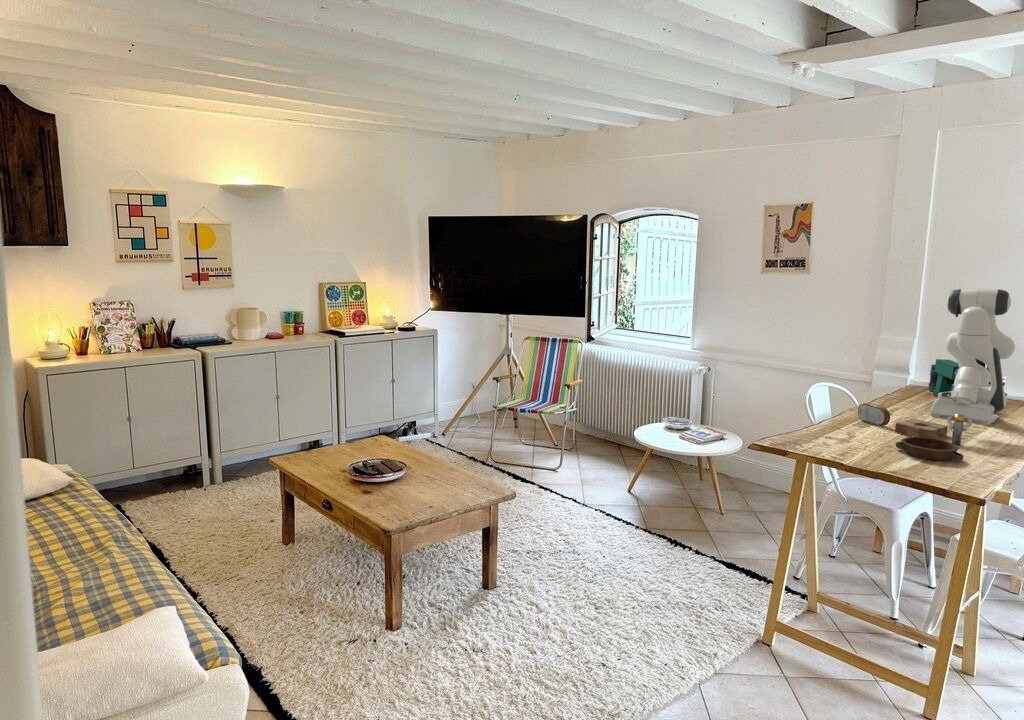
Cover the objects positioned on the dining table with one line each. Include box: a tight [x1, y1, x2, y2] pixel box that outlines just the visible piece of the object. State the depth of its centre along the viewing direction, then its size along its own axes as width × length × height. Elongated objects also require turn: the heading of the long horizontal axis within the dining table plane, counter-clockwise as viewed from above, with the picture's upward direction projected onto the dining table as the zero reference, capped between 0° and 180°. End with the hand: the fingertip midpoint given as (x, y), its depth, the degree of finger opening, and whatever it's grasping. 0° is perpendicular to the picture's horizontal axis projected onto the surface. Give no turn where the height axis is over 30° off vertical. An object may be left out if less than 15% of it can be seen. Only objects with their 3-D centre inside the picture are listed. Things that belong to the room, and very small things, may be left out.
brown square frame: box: [894, 418, 949, 439], centre depth 285 cm, size 14×14×4 cm
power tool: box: [930, 358, 960, 399], centre depth 341 cm, size 32×7×20 cm, turn 168°
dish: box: [895, 436, 965, 462], centre depth 256 cm, size 18×22×5 cm
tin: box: [857, 402, 891, 427], centre depth 301 cm, size 15×3×8 cm, turn 20°
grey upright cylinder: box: [951, 414, 965, 447], centre depth 270 cm, size 3×3×12 cm
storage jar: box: [927, 364, 939, 392], centre depth 365 cm, size 10×10×15 cm
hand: (957, 429), depth 269 cm, fingers closed on grey upright cylinder, 3 cm apart
